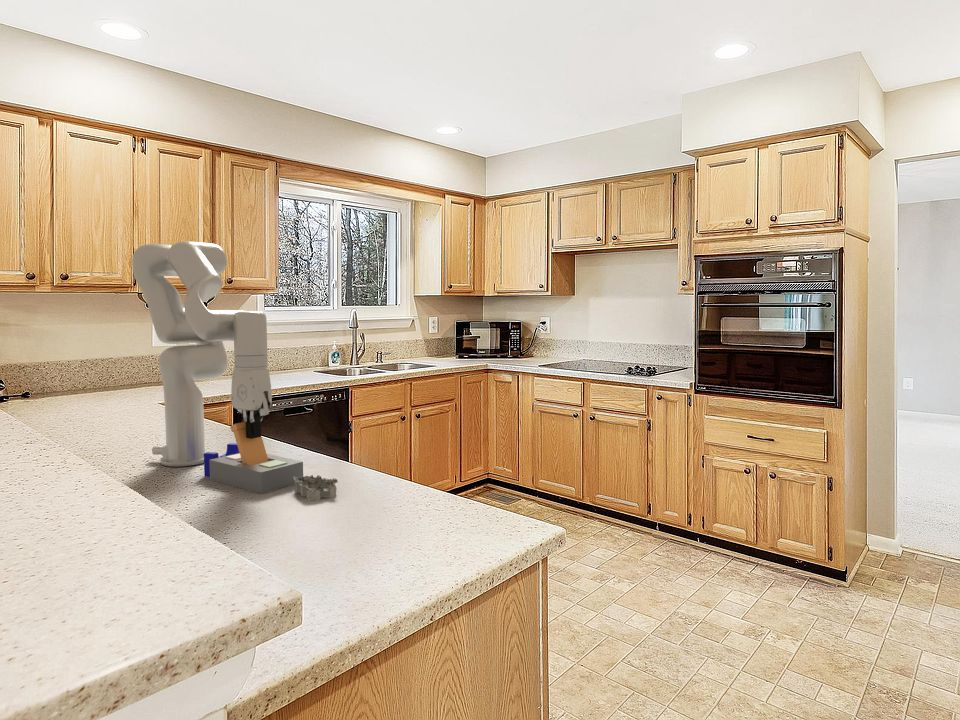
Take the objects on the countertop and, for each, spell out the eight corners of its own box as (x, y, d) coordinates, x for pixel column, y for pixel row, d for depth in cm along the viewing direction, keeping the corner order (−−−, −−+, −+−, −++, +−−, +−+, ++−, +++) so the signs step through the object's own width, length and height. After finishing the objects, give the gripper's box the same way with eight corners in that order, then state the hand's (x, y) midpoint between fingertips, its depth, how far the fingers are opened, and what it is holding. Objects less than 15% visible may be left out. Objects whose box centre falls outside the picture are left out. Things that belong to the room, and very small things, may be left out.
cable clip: (225, 464, 170) (225, 442, 169) (241, 465, 169) (240, 443, 168) (199, 476, 158) (198, 453, 157) (215, 477, 157) (214, 454, 157)
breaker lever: (244, 474, 151) (230, 426, 153) (266, 469, 157) (252, 422, 158) (249, 472, 150) (235, 423, 152) (272, 466, 155) (258, 419, 157)
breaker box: (209, 479, 155) (209, 458, 154) (251, 469, 165) (251, 449, 164) (261, 493, 144) (261, 471, 143) (303, 481, 153) (302, 460, 153)
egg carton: (340, 497, 142) (339, 479, 142) (307, 503, 138) (307, 485, 138) (322, 485, 151) (322, 469, 151) (291, 491, 147) (291, 473, 146)
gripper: (218, 362, 153) (221, 436, 155) (257, 365, 145) (260, 443, 146) (245, 359, 159) (247, 431, 161) (284, 362, 151) (286, 438, 152)
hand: (253, 437), depth 153 cm, fingers closed
